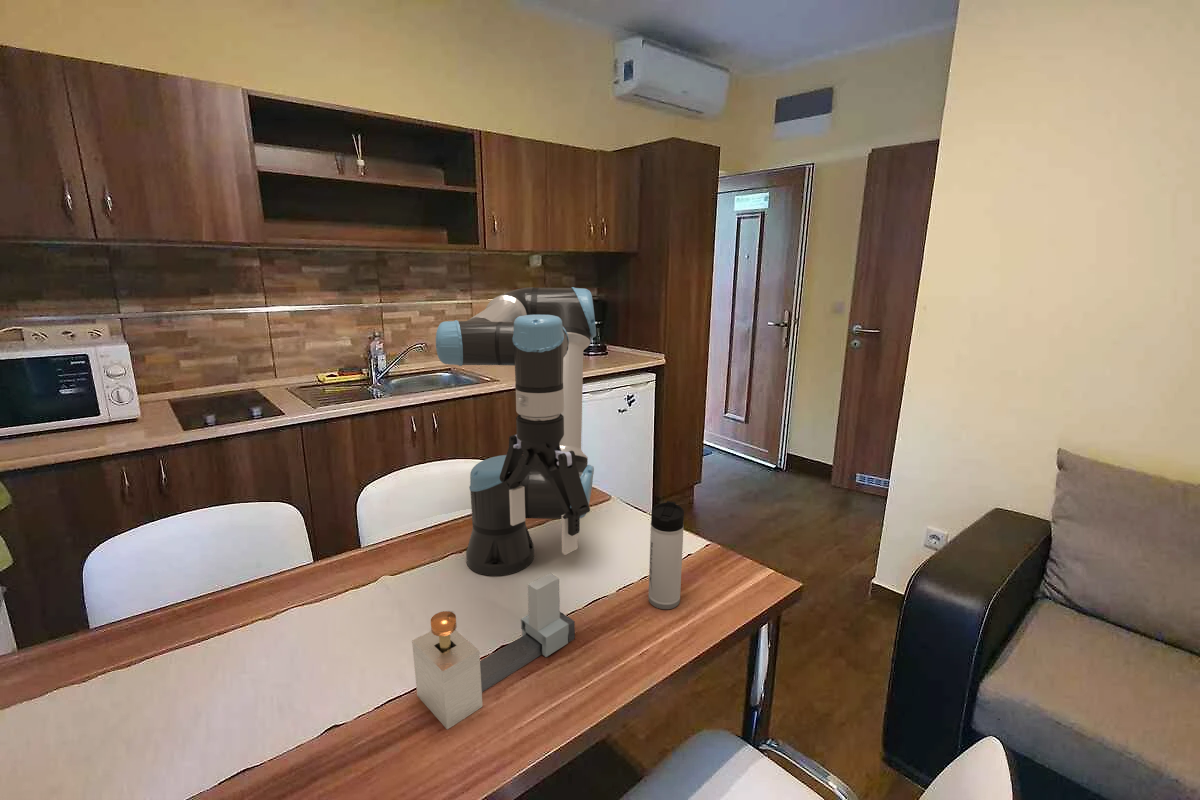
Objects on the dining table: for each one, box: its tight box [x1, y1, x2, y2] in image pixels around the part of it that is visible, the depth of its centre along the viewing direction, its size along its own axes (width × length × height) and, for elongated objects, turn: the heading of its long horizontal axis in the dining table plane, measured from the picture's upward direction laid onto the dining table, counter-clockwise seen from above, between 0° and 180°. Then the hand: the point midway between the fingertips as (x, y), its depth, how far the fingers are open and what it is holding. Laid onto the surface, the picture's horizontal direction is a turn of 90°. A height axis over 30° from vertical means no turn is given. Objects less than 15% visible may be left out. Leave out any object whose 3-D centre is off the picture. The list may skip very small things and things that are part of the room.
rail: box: [411, 611, 576, 731], centre depth 91 cm, size 9×26×10 cm, turn 135°
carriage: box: [520, 572, 569, 658], centre depth 97 cm, size 7×5×12 cm
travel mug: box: [647, 500, 685, 610], centre depth 108 cm, size 6×7×20 cm
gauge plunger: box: [430, 610, 458, 653], centre depth 83 cm, size 4×4×9 cm
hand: (542, 536), depth 93 cm, fingers open, 13 cm apart
